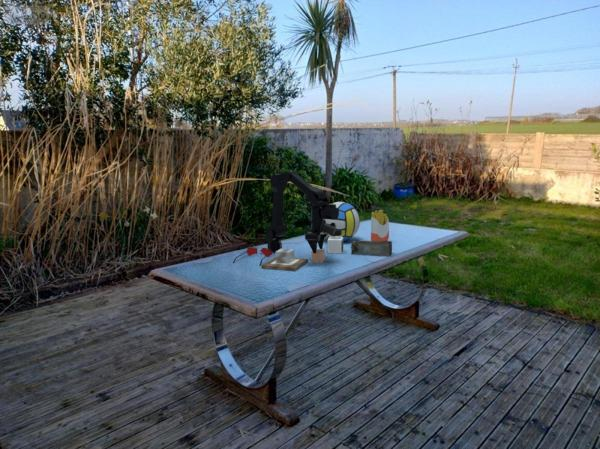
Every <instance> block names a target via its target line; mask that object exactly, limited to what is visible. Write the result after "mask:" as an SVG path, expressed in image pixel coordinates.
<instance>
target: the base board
mask: <svg viewBox="0 0 600 449" xmlns="http://www.w3.org/2000/svg"><path fill="white" fill-rule="evenodd" d="M308 263H309V259H308V258H304V257H303V258H302V257H295V249H294V248H293V249H291V248H282V249H280V250H278V251H276V253H275V256H274V257H272V258H271V259H269V260H267V261H265V262H264V263H263V264H262V263H261V265H260V266H261V269H263V270H276V271H277V270H278V271H288V272H297V271H298V270H299V269H300V268H302V267H303V266H305V265H306V264H308Z"/></svg>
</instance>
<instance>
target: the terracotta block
mask: <svg viewBox="0 0 600 449" xmlns="http://www.w3.org/2000/svg"><path fill="white" fill-rule="evenodd" d="M310 253H311V254H310V255H311V256H310V257H311V258H310V259H311V261H310V262H311V263H317V264H318V263H321V264H322V263H323V262H324V261H325V260H326V249H320V248H319V249H318V248H317V251H316V254H314V253H313V251H312V250H311V252H310Z"/></svg>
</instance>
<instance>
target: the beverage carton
mask: <svg viewBox="0 0 600 449" xmlns="http://www.w3.org/2000/svg"><path fill="white" fill-rule="evenodd" d="M350 244H351V250H350V251H351V252H350V253H351V255H354V256H358V255H359V256H375V257H377V256H378V257H379V256H381V257H390V256H391V255H392V252H393V242H392V240H391V241H389V240H388V241H371V240H359V239H358V240H357V239H356V240H353V241H352V242H351V243H350Z"/></svg>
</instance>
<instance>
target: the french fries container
mask: <svg viewBox="0 0 600 449" xmlns="http://www.w3.org/2000/svg"><path fill="white" fill-rule="evenodd" d="M389 221H390V220H389V217H388V216H387V213H384V210H383V209H380V210H375V212H373V211H372V212H371V218H370V241H389V239H390V223H389Z"/></svg>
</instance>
